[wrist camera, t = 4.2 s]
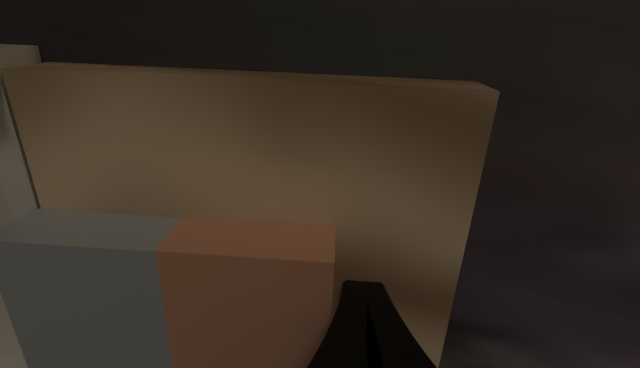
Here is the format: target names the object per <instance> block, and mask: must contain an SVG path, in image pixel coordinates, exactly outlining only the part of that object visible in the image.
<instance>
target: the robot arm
mask: <svg viewBox="0 0 640 368" xmlns="http://www.w3.org/2000/svg"><path fill="white" fill-rule="evenodd" d="M307 368H437V367H436V366H435V365H434V363H433V362H432V361H431V360H430V358H429V357H428V356H427V354H426V353H425V352H424V350H423V349H422V348H421V346H420V345H419V344H418V342H417V341H416V339H415V338H414V336H413V335H412V333H411V332H410V330H409V329H408V327H407V326H406V324H405V323H404V321H403V319H402V318H401V316H400V315H399V313H398V311H397V309H396V308H395V306H394V304H393V302H392V300H391V299H390V297H389V295H388V293H387V291H386V288H385V286H384V285H383V284H382V283H381V282H369V281H354V280H346V281H344V282H343V284H342V293H341V297H340V301H339V304H338V307H337V310H336V312H335V315H334V317H333V320H332V322H331V324H330V327H329V329H328V331H327V333H326V335H325V337H324V339H323V341H322V343H321V345H320V346H319V348H318V350H317V352H316V353H315V355H314V357H313V358H312V360H311V362H310V363H309V365H308V366H307Z"/></svg>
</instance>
